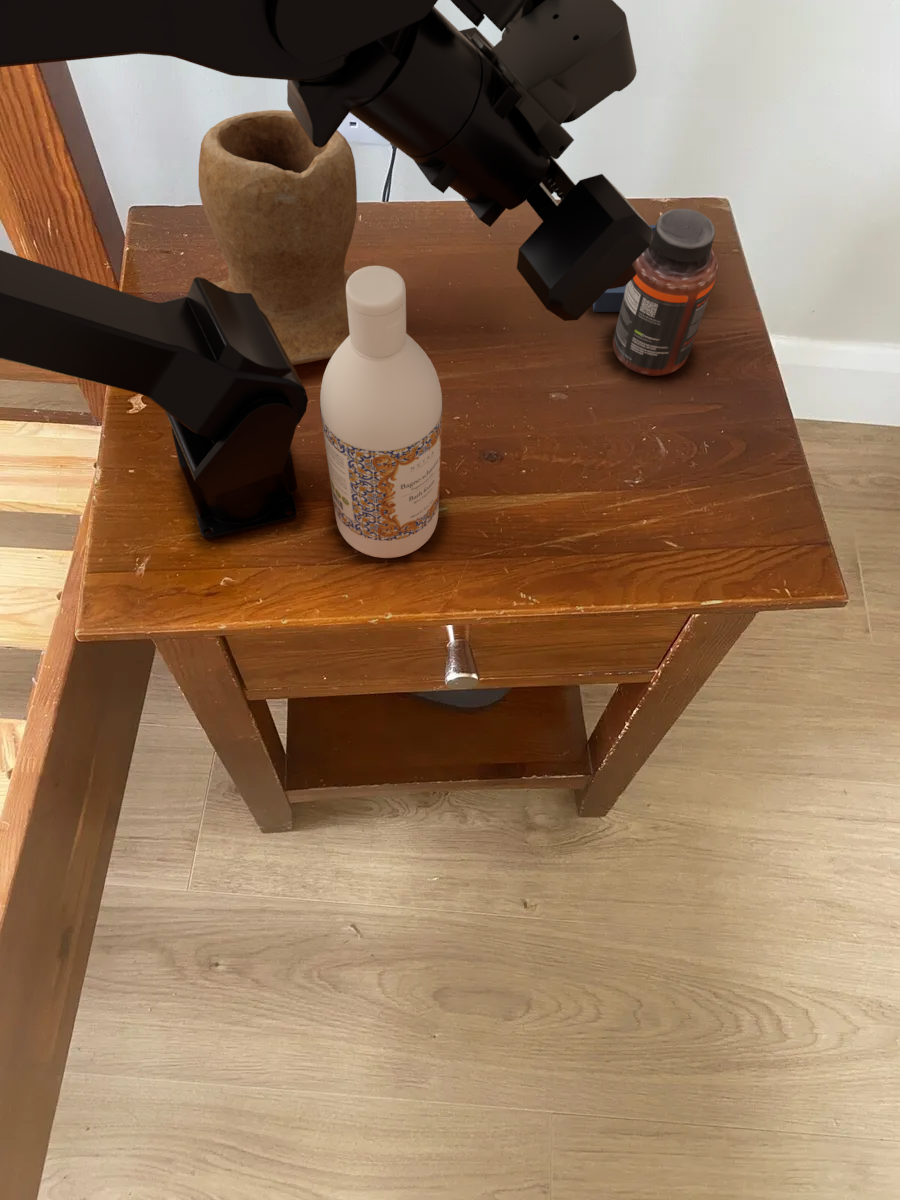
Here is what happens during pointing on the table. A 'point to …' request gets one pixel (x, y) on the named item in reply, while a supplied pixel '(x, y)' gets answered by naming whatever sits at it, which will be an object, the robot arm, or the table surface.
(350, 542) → the bath foam
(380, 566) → the table surface
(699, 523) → the table surface
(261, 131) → the stone cup
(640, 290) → the supplement bottle
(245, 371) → the robot arm
